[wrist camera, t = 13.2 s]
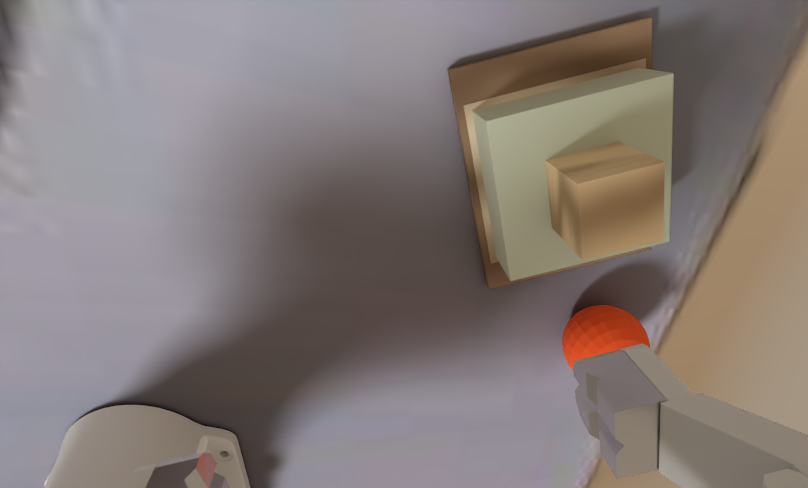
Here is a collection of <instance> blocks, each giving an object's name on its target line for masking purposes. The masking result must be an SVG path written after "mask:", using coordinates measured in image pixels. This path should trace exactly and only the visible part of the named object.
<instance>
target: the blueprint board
mask: <svg viewBox="0 0 808 488" xmlns="http://www.w3.org/2000/svg"><path fill="white" fill-rule="evenodd" d="M636 68H644V69H650V70H652V18H641V19H637V20H633V21H629V22H626V23H622V24H618V25H614V26H610V27H606V28H603V29H599V30H595V31H591V32H587V33H583V34H579V35H576V36H572V37H568V38H564V39H560V40H556V41H553V42H549V43H545V44H541V45H537V46H533V47H529V48H526V49H522V50H518V51H514V52H510V53H506V54H503V55H499V56H495V57H491V58H487V59H483V60H480V61H476V62H472V63H468V64H464V65H460V66H456V67H453V68H449V69H448V75H449V80H450V86H451V91H452V97H453V102H454V108H455V113H456V119H457V124H458V130H459V135H460V141H461V146H462V152H463V157H464V163H465V168H466V174H467V179H468V185H469V190H470V196H471V201H472V207H473V212H474V218H475V223H476V229H477V234H478V240H479V245H480V251H481V256H482V262H483V267H484V273H485V278H486V284H487V286H488V288H489V289H493V288H497V287H501V286H505V285H509V284H513V283H517V282H521V281H525V280H529V279H533V278H537V277H542V276H546V275H550V274H554V273H558V272H562V271H566V270H570V269H574V268H578V267H582V266H586V265H590V264H594V263H598V262H602V261H606V260H610V259H614V258H618V257H622V256H626V255H630V254H634V253H638V252H642V251H646V250H650V249H651V246H650V247H646V248H642V249H638V250H634V251H630V252H626V253H622V254H618V255H614V256H610V257H606V258H602V259H598V260H594V261H590V262H586V263H582V264H578V265H574V266H570V267H566V268H562V269H558V270H554V271H550V272H546V273H542V274H538V275H534V276H530V277H526V278H522V279H518V280H514V281H510V280H509V278H508V276H507V274H506V273H505V271H504V269H503V268H502V266H501V264H500V263H499V261H498V259H497V257H496V253H495V247H494V241H493V235H492V229H491V223H490V217H489V211H488V205H487V199H486V193H485V187H484V181H483V175H482V169H481V163H480V157H479V151H478V145H477V139H476V133H475V127H474V121H473V115H472V111H473V110H476V109H480V108H484V107H488V106H492V105H496V104H500V103H504V102H508V101H511V100H515V99H519V98H523V97H527V96H531V95H535V94H539V93H542V92H546V91H550V90H554V89H558V88H562V87H566V86H570V85H573V84H577V83H581V82H585V81H589V80H593V79H597V78H601V77H605V76H608V75H612V74H616V73H620V72H624V71H628V70H632V69H636Z"/></svg>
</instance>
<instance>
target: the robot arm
mask: <svg viewBox="0 0 808 488" xmlns="http://www.w3.org/2000/svg"><path fill="white" fill-rule="evenodd" d="M573 370H574V376H575V378H576V379H577V381H578V382H579V386H578V387H577V389H576V390H575V393H576V402H577V406H578V409H579V412H580V416H581V418H582V420H583V422H584V424H585V426H586V428H587V430H588V431H589V433H590V435H592V436H594V437H596V438H598V439H599V440H600V451H601V453H602V455H603V457H604V458H605V460H606V462H607V463H608V465H609V467H610V468H611V470H612V471H613V473H614V475H615V476H616V478H617V479H619V478H624V477H628V476H633V475H638V474H642V473H647V472H652V471H656V470H659V473H661V474H662V475H664V476H666V477H667V478H668V479H670V480H672V481H673V482H674V483H676V484H677V485H679V486H681V487H682V488H808V435H806V434H804V433H801V432H798V431H796V430H794V429H791V428H789V427H786V426H784V425H781V424H779V423H776V422H773V421H771V420H768V419H766V418H763V417H761V416H758V415H756V414H753V413H751V412H748V411H746V410H743V409H741V408H738V407H736V406H733V405H731V404H728V403H726V402H723V401H721V400H718V399H716V398H713V397H711V396H708V395H706V394H703V393H699V394H695V395H694V394H693V393H692V391H691V390H689V388H688V387H687V386H686V385H685V384H684V383H683V382H682V381H681V380H680V379H679V378H678V377H677V376H676V375H675V374H674V373H673V372H672V371H671V370H670V369H669V368H668V367H667V366H666V365H665V364H664V363H663V362H662V361H661V359H660V358H659V357H658V356H657V355H656V354H655V353H654V352H653V351H652V350H651V349H650V348H649V347H648V346H647V345H645V344H642V343H641V344H638V345H634V346H630V347H626V348H622V349H619V350H615V351H612V352H608V353H604V354H600V355H596V356H592V357H588V358H584V359H580V360H576V361H574V365H573ZM44 488H251V487H250V484H249V480H248V476H247V473H246V469H245V465H244V461H243V458H242V454H241V450H240V447H239V443H238V439H237V437H236V435H235V434H234V433H232V432H230V431H227V430H224V429H219V428H214V427H208V426H203V425H200V424H198V423H196V422H193V421H191V420H190V419H188V418H186V417H184V416H181V415H179V414H177V413H174V412H171V411H168V410H165V409H161V408H157V407H151V406H144V405H119V406H112V407H107V408H103V409H99V410H97V411H94V412H92V413H89V414H87V415H85V416H84V417H82V418H81V419H79V420H78V421H77V422H75V423H74V424H73V425H72V426H71V427H70V429H69V430H68V431H67V433H66V435H65V437H64V439H63V443H62V446H61V449H60V452H59V454H58V457H57V460H56V462H55V465H54V467H53V469H52V471H51V472H50V474H49V476H48V477H47V479H46V481H45V484H44Z"/></svg>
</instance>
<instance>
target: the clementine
mask: <svg viewBox="0 0 808 488" xmlns="http://www.w3.org/2000/svg"><path fill="white" fill-rule="evenodd" d="M641 343H642V344H645V345H647V346H648V347H649V348H650V344H649V339H648V336H647V333H646V331H645V329H644V328H643V326H642V325H641V323H640V322H639V321H638V320H637V319H636V318H635V317H634V316H632V315H631V314H630V313H628V312H627V311H625V310H623V309H621V308H618V307H614V306H610V305H596V306H591V307H587V308H585V309H583V310H581V311H579V312H578V313H576V314H575V315H574V316H573V317H572V318H571V319H570V321H569V322H568V324H567V326H566V328H565V330H564V333H563V340H562V345H563V352H564V355H565V357H566V360H567V362H568V364H569V366H570V367H571V368H572V369H573V365H574V361H576V360H580V359H584V358H588V357H592V356H596V355H600V354H604V353H608V352H612V351H615V350H619V349H622V348H626V347H630V346H634V345H638V344H641Z"/></svg>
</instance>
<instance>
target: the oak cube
mask: <svg viewBox="0 0 808 488" xmlns="http://www.w3.org/2000/svg"><path fill="white" fill-rule="evenodd" d="M545 164H546V174H547V184H548V194H549V205H550V215H551V225H552V228H553V229H554V231H555V232H556V233H557V234H558V235H559V236H560V237H561V238H562V239H563V240H564V241H565V242H566V243H567V244H568V245H569V246H570V247H571V249H572V250H573V251H574V252H575V253H576V254H577V255H578V256H579V257H580V258H581V259H582V260H585V259H589V258H594V257H598V256H602V255H606V254H610V253H614V252H618V251H622V250H626V249H630V248H634V247H638V246H642V245H646V244H650V243H654V242H658V241H663V228H664V179H665V162H664V161H661V160H659V159H657V158H655V157H652V156H650V155H648V154H646V153H644V152H641V151H639V150H637V149H635V148H633V147H630V146H628V145H626V144H624V143H621V142H616V143H612V144H608V145H604V146H600V147H596V148H592V149H588V150H584V151H580V152H576V153H572V154H568V155H564V156H560V157H556V158H552V159H548V160H545Z"/></svg>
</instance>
